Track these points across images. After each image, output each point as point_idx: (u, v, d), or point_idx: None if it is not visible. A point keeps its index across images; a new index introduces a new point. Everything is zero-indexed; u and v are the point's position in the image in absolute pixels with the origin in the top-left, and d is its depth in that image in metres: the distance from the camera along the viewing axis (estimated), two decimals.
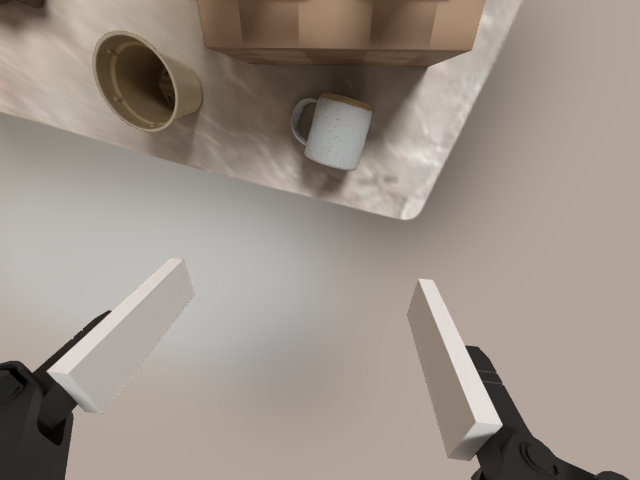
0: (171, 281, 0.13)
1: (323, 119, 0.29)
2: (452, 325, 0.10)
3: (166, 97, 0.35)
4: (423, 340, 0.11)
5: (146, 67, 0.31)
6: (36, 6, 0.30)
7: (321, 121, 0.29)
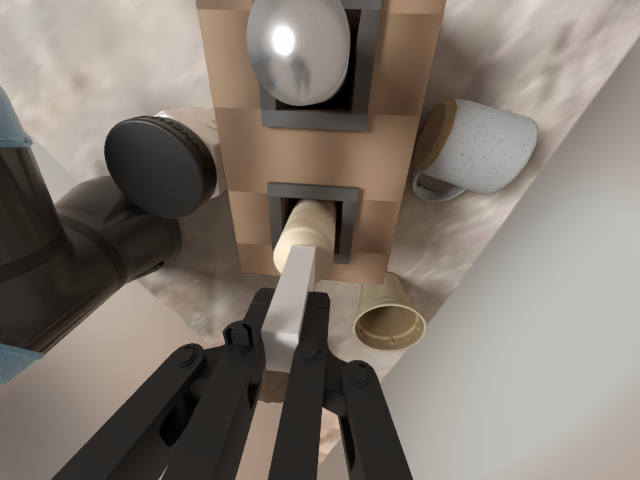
0: None
1: (454, 171, 0.23)
2: (307, 276, 0.12)
3: None
4: None
5: None
6: None
7: (455, 174, 0.23)
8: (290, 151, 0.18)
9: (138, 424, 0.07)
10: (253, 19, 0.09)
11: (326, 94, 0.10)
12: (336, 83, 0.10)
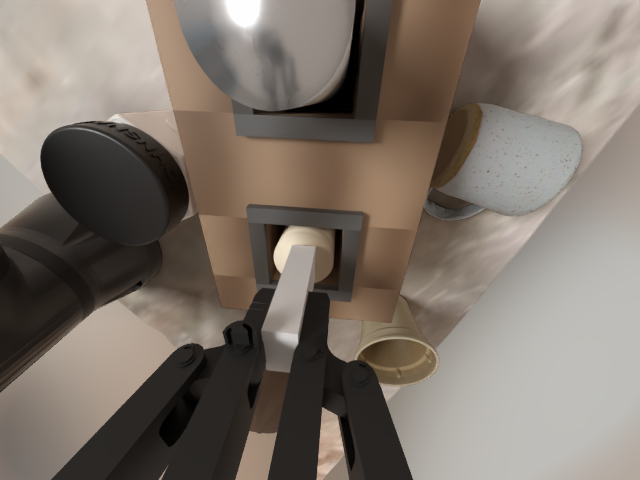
0: None
1: (476, 191, 0.19)
2: (307, 276, 0.12)
3: None
4: None
5: None
6: None
7: (477, 193, 0.19)
8: (274, 166, 0.14)
9: (138, 424, 0.07)
10: None
11: (315, 92, 0.06)
12: (331, 73, 0.06)
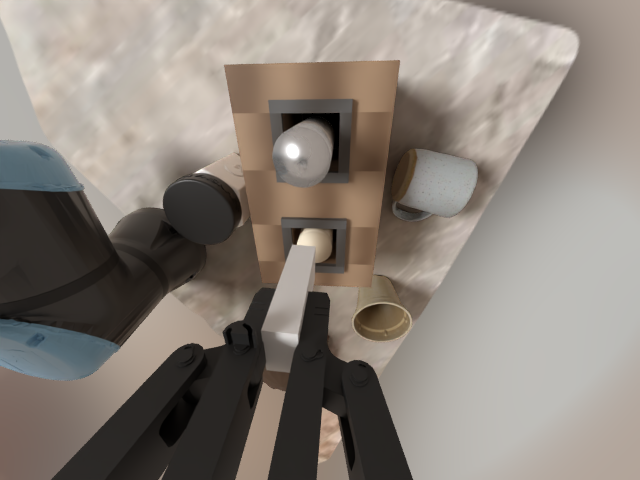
0: None
1: (419, 203, 0.30)
2: (307, 276, 0.12)
3: None
4: None
5: None
6: (328, 338, 0.54)
7: (420, 205, 0.30)
8: (296, 196, 0.25)
9: (138, 424, 0.07)
10: (276, 147, 0.16)
11: (319, 181, 0.17)
12: (324, 176, 0.17)
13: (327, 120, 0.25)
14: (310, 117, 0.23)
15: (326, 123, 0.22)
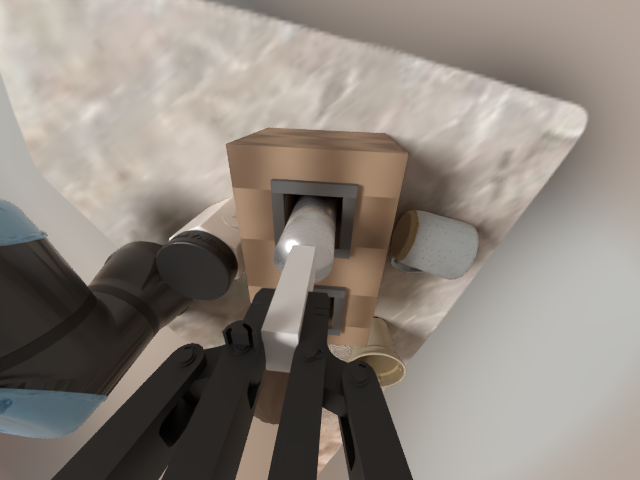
0: None
1: (418, 266, 0.29)
2: (307, 276, 0.12)
3: None
4: None
5: None
6: None
7: (419, 267, 0.30)
8: None
9: (138, 424, 0.07)
10: (278, 249, 0.16)
11: (320, 280, 0.17)
12: (325, 276, 0.16)
13: None
14: None
15: (329, 197, 0.22)
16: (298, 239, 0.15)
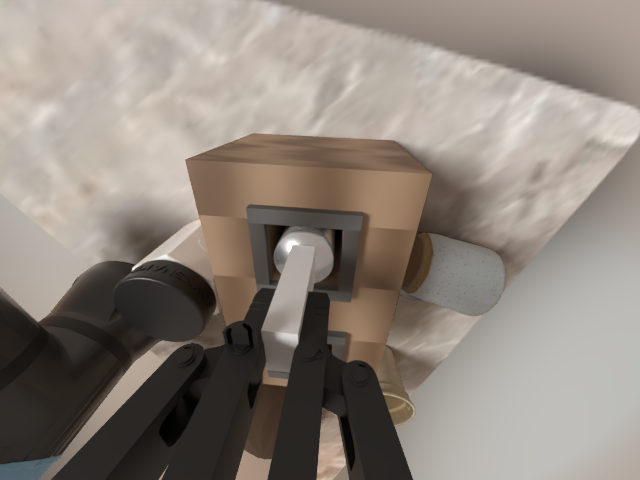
0: None
1: (432, 301, 0.25)
2: (307, 276, 0.12)
3: None
4: None
5: None
6: None
7: (433, 302, 0.25)
8: None
9: (138, 424, 0.07)
10: (278, 249, 0.16)
11: (320, 280, 0.17)
12: (326, 276, 0.16)
13: None
14: None
15: None
16: (298, 239, 0.15)
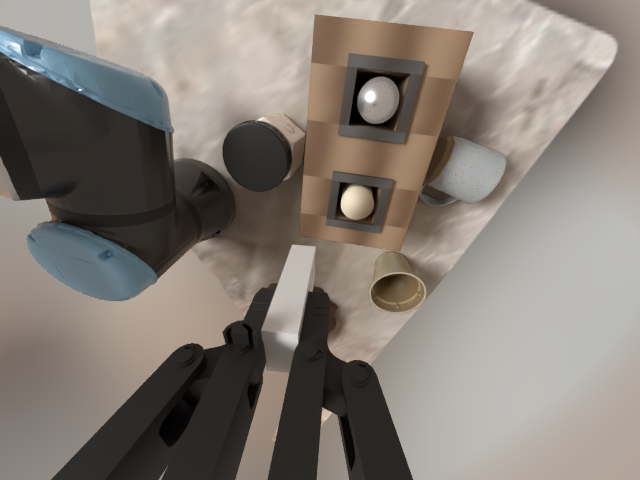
0: None
1: (449, 186, 0.33)
2: (307, 276, 0.12)
3: (393, 275, 0.49)
4: None
5: (378, 280, 0.47)
6: (336, 307, 0.55)
7: (450, 187, 0.33)
8: (351, 151, 0.27)
9: (138, 424, 0.07)
10: (362, 90, 0.23)
11: (386, 120, 0.24)
12: (391, 116, 0.24)
13: None
14: None
15: None
16: (378, 81, 0.23)
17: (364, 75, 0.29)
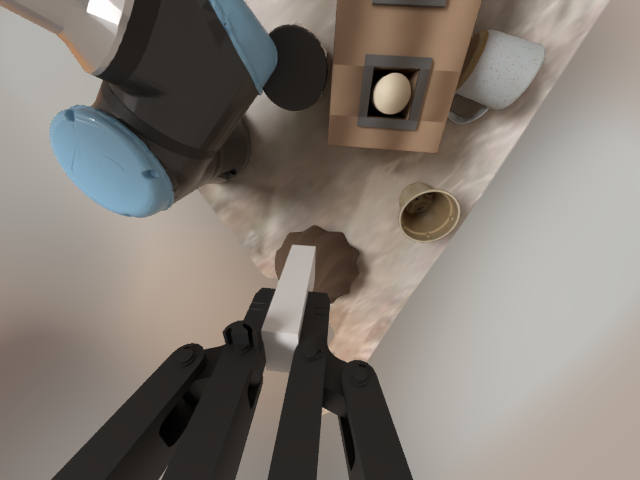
0: None
1: (483, 84, 0.31)
2: (307, 276, 0.12)
3: (418, 211, 0.47)
4: None
5: (404, 214, 0.45)
6: (358, 253, 0.53)
7: (483, 87, 0.31)
8: (386, 27, 0.25)
9: (138, 424, 0.07)
10: None
11: None
12: None
13: None
14: None
15: None
16: None
17: None
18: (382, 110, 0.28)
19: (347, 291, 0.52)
